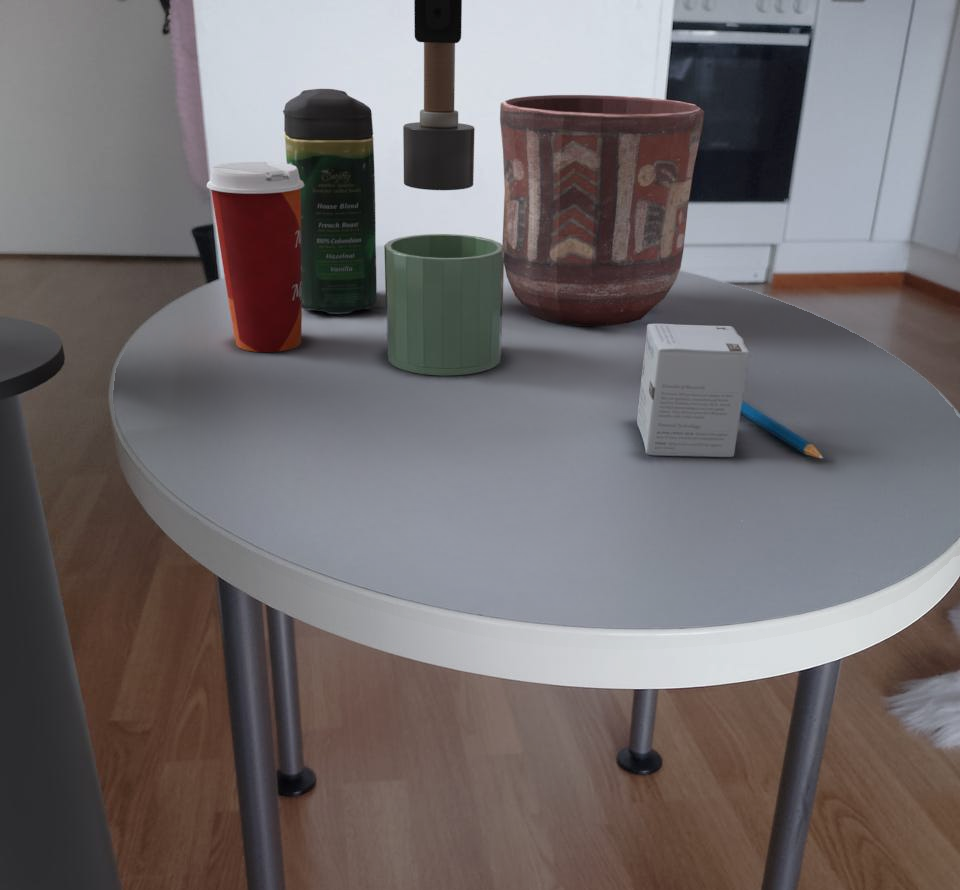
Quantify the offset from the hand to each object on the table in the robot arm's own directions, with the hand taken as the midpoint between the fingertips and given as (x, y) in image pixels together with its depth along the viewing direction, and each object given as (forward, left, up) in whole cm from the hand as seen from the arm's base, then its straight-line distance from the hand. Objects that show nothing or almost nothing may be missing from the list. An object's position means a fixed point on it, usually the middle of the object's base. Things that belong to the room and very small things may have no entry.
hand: (438, 38), depth 76 cm
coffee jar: (0, +22, -24) cm, 32 cm away
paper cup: (-10, +12, -24) cm, 29 cm away
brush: (0, 0, -10) cm, 10 cm away
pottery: (+21, +10, -24) cm, 33 cm away
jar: (+2, +2, -23) cm, 24 cm away
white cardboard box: (+9, -22, -24) cm, 33 cm away
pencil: (+16, -21, -24) cm, 35 cm away
